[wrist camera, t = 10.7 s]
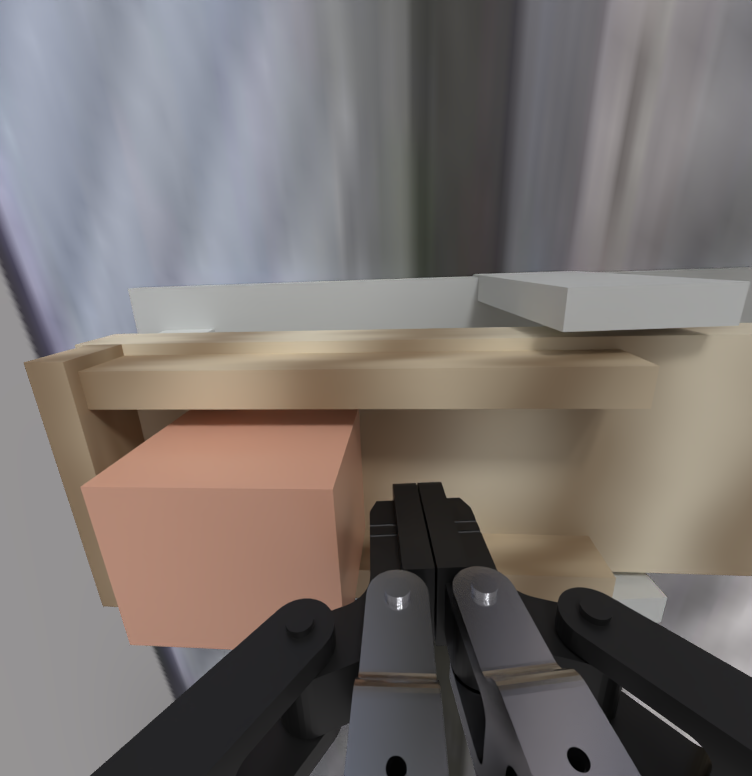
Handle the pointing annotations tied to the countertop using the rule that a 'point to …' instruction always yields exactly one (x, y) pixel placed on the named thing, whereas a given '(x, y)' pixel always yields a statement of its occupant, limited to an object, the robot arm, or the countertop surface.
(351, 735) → the robot arm
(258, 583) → the rider
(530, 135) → the countertop surface
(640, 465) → the beam
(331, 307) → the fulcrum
